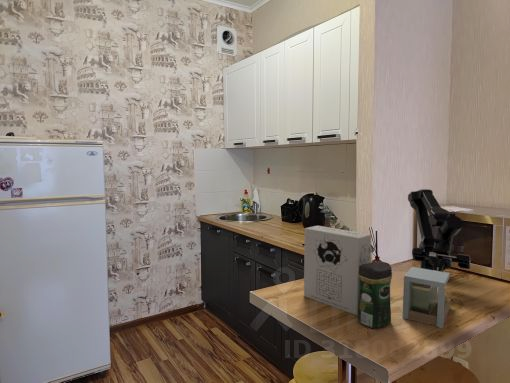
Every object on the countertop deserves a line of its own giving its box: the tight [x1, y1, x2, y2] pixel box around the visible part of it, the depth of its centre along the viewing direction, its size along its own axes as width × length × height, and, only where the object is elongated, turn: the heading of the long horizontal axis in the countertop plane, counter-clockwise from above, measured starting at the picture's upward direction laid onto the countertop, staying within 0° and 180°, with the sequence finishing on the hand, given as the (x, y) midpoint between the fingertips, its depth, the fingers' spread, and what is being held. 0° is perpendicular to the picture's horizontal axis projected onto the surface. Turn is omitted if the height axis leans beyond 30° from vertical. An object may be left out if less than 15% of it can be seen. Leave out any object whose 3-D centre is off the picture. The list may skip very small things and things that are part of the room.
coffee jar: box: [357, 260, 393, 329], centre depth 104 cm, size 10×8×19 cm
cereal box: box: [303, 225, 372, 316], centre depth 118 cm, size 22×8×25 cm, turn 43°
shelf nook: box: [402, 266, 451, 329], centre depth 110 cm, size 17×11×14 cm, turn 144°
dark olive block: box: [411, 282, 439, 315], centre depth 114 cm, size 16×5×10 cm, turn 144°
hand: (436, 278), depth 124 cm, fingers closed
